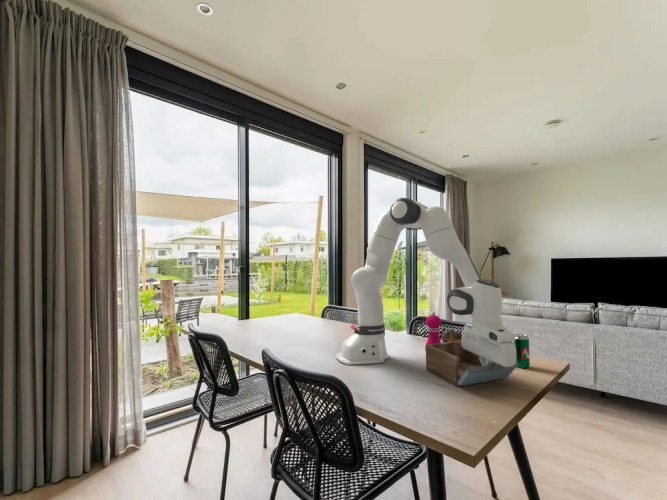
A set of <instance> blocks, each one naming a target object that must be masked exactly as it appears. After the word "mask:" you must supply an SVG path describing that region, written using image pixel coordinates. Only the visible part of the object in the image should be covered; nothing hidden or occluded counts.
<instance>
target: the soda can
mask: <svg viewBox="0 0 667 500" xmlns="http://www.w3.org/2000/svg"><path fill="white" fill-rule="evenodd" d="M514 334H515V333H514ZM513 343H514V344H515V347H516V361H517V362H518V364H519V365H518V366H517V367H516V368H518V369H523V370H524V369H529V368H530V367H531V359H530V353H531V351H530V338H529V336H528V335H527V334H522V333H517V334H515V341H513Z"/></svg>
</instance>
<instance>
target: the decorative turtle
mask: <svg viewBox="0 0 667 500" xmlns="http://www.w3.org/2000/svg"><path fill="white" fill-rule="evenodd" d="M461 340H462V334H461V333H460V332H458V331H455V330H454V329H452V328H450V329H448V330H447V331H446V332H445V333H444V334H442V337H441V342H442V343H445V342H454V341H461Z"/></svg>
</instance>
